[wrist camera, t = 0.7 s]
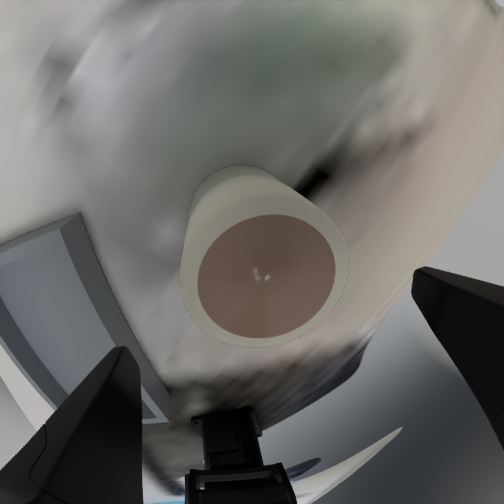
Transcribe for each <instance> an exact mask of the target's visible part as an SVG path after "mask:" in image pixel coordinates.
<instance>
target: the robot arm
mask: <svg viewBox="0 0 504 504" xmlns="http://www.w3.org/2000/svg"><path fill="white" fill-rule="evenodd" d="M411 293H412V297H413V299H414V301H415V302H416V304H417V306H418V307H419V309H420V311H421V312H422V314H423V316H424V318H425V319H426V321H427V323H428V324H429V326H430V328H431V329H432V331H433V333H434V334H435V336H436V337H437V338H438V340H439V341H440V343H441V344H442V346H443V347H444V349H445V350H446V351H447V353H448V354H449V356H450V357H451V359H452V360H453V362H454V364H455V365H456V366H457V368H458V370H459V371H460V373H461V374H462V376H463V377H464V379H465V381H466V382H467V384H468V385H469V387H470V389H471V390H472V392H473V394H474V395H475V397H476V399H477V401H478V402H479V404H480V406H481V407H482V409H483V411H484V413H485V415H486V417H487V418H488V420H489V422H490V423H491V426H492V428H493V430H494V432H495V434H496V435H497V438H498V440H499V442H500V444H501V446H502V448H503V450H504V287H503V286H499V285H496V284H492V283H488V282H485V281H481V280H477V279H473V278H469V277H465V276H462V275H458V274H454V273H450V272H446V271H442V270H439V269H434V268H431V267H426V266H424V267H421V268H418V269H416V270H415V271H414V274H413V282H412V290H411ZM191 424H192V425H193V426H194V428H195V429H196V430H197V432H198V433H199V434H200V436H201V437H202V438H203V451H204V463H205V470H196V469H190V473H189V474H186V475H185V504H297V500H296V496H295V493H294V491H293V488H292V486H291V484H290V481H289V479H288V477H287V474H286V472H285V470H284V467H283V465H282V463H276V464H273V465H266V466H264V464H263V460H262V455H261V451H260V447H259V442H258V437H261V436H262V431H261V428H260V426H259V423H258V420H257V418H256V415H255V412H254V410H253V408H244V409H239V410H234V411H229V412H224V413H218V414H212V415H206V416H199V417H193V418H191ZM200 487H204V488H205V489H204V490H200ZM0 504H143V488H142V397H141V376H140V367H139V365H138V363H137V361H136V360H135V358H134V356H133V355H132V353H131V351H130V350H129V348H128V347H127V346H117V347H114V348H112V349H111V350H110V351H109V352H108V354H107V355H106V356H105V357H104V358H103V359H102V360H101V361H100V362H99V363H98V364H97V365H96V366H95V367H94V369H93V370H92V371H91V372H90V373H89V374H88V375H87V376H86V377H85V378H84V379H83V381H82V382H81V383H80V384H79V385H78V386H77V387H76V388H75V389H74V390H73V392H72V393H71V394H70V395H69V396H68V397H67V398H66V399H65V400H64V402H63V403H62V404H61V405H60V406H59V407H58V408H57V410H56V411H55V412H54V413H53V414H52V415H51V416H50V418H49V419H48V420H47V421H46V422H45V424H43V426H42V427H41V428H40V429H39V430H38V431H37V433H36V434H35V435H34V436H33V437H32V438H31V439H30V440H29V442H28V443H27V444H26V445H25V446H24V447H23V448H22V449H21V450H20V451H19V452H18V453H17V454H16V455H15V456H14V457H13V458H12V459H11V460H10V461H9V462H8V463H7V464H6V465H5V466H4V467H3V468H2V469H1V470H0Z"/></svg>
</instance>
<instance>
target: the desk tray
mask: <svg viewBox="0 0 504 504" xmlns="http://www.w3.org/2000/svg"><path fill="white" fill-rule="evenodd" d="M0 344H1V345H2V347H3V348H4V350H5V351H6V352H7V354H8V355H9V357H10V358H11V359H12V361H13V362H14V363H15V365H16V366H17V367H18V369H19V370H20V371H21V373H22V374H23V375H24V376H25V378H26V379H27V380H28V381H29V382H30V384H31V385H32V386H33V387H34V388H35V389H36V391H37V392H38V393H39V394H40V395H41V396H42V397H43V398H44V399H45V401H46V402H47V403H48V404H49V405H50V406H51V407H52V408H53V409H54V410H55V411H56V410H57V408H58V407H59V406H60V405H61V404H62V403H63V402H64V400H65V399H66V398H67V397H68V396H69V395H70V394H71V393H72V392H73V390H74V389H75V388H76V387H77V386H78V385H79V384H80V383H81V382H82V381H83V379H84V378H85V377H86V376H87V375H88V374H89V373H90V372H91V371H92V370H93V369H94V367H95V366H96V365H97V364H98V363H99V362H100V361H101V360H102V359H103V358H104V357H105V356H106V355H107V354H108V352H109V351H110V350H111V349H112V348H114V347H117V346H127V347H128V348H129V350H130V351H131V353H132V355H133V356H134V358H135V360H136V361H137V363H138V365H139V367H140V376H141V397H142V424H149V423H162V422H170V394H169V393H168V391H167V390H166V388H165V387H164V385H163V384H162V382H161V381H160V379H159V377H158V376H157V374H156V373H155V371H154V369H153V368H152V366H151V364H150V363H149V361H148V359H147V358H146V356H145V354H144V353H143V351H142V349H141V347H140V346H139V344H138V342H137V340H136V338H135V337H134V335H133V333H132V331H131V329H130V327H129V325H128V324H127V322H126V320H125V318H124V316H123V314H122V312H121V310H120V308H119V306H118V304H117V302H116V300H115V298H114V295H113V293H112V291H111V289H110V287H109V285H108V282H107V280H106V278H105V276H104V273H103V271H102V269H101V266H100V264H99V262H98V259H97V257H96V254H95V252H94V249H93V247H92V244H91V241H90V239H89V236H88V233H87V231H86V228H85V225H84V222H83V219H82V217H81V214H80V213H78V214H75V215H72V216H70V217H67V218H64V219H62V220H59V221H57V222H54V223H51V224H49V225H46V226H44V227H41V228H39V229H37V230H34V231H32V232H29V233H27V234H25V235H22V236H20V237H18V238H16V239H13V240H11V241H9V242H7V243H5V244H3V245H0Z"/></svg>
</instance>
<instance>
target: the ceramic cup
mask: <svg viewBox="0 0 504 504" xmlns="http://www.w3.org/2000/svg"><path fill="white" fill-rule="evenodd" d="M348 273H349V253H348V249H347V244H346V241H345V239H344V236H343V234H342V232H341V231H340V229H339V227H338V226H337V224H336V223H335V222H334V221H333V220H332V218H331V217H330V216H328V215H327V214H326V213H325V212H324V211H323V210H321V209H320V208H319V207H317V206H316V205H314V204H313V203H312V202H310V201H309V200H307V199H306V198H304V197H303V196H302V195H300V194H299V193H297V192H296V191H294V190H293V189H291V188H290V187H289V186H287V185H286V184H284V183H283V182H281V181H280V180H278V179H277V178H275V177H274V176H272V175H271V174H269V173H267V172H266V171H264V170H262V169H259V168H257V167H253V166H248V165H235V166H229V167H226V168H223V169H220V170H218V171H216V172H214V173H213V174H211V175H210V176H209V177H207V178H206V179H205V180H204V181H203V182H202V183H201V185H200V186H199V187H198V189H197V191H196V192H195V194H194V197H193V199H192V202H191V207H190V212H189V218H188V223H187V229H186V235H185V241H184V247H183V254H182V260H181V267H180V277H179V285H180V292H181V296H182V300H183V303H184V305H185V307H186V310H187V312H188V313H189V315H190V316H191V318H192V319H193V320H194V322H195V323H196V324H197V325H198V326H199V327H200V328H201V329H202V330H204V331H205V332H206V333H207V334H209V335H211V336H212V337H214V338H216V339H218V340H220V341H222V342H225V343H228V344H231V345H234V346H239V347H247V348H263V347H271V346H276V345H281V344H284V343H287V342H290V341H292V340H294V339H297V338H299V337H301V336H303V335H304V334H306V333H308V332H309V331H311V330H312V329H314V328H315V327H316V326H317V325H319V324H320V323H321V322H322V321H323V320H324V319H325V318H326V317H327V316H328V315H329V314H330V312H331V311H332V310H333V309H334V307H335V306H336V304H337V303H338V301H339V299H340V297H341V295H342V293H343V291H344V288H345V285H346V282H347V278H348Z"/></svg>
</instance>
